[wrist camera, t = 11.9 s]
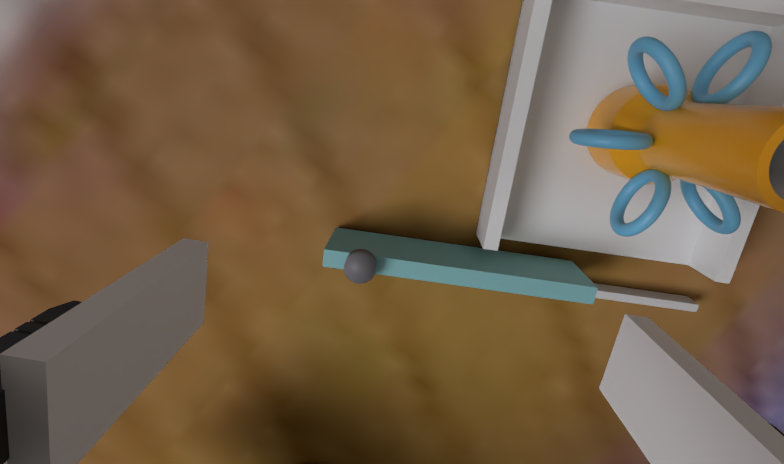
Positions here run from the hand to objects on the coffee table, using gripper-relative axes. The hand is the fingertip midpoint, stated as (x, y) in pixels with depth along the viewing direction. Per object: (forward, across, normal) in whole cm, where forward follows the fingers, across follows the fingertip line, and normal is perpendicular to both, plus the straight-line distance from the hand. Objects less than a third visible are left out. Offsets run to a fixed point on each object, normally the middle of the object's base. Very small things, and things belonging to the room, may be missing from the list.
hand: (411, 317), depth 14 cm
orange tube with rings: (+20, +14, +7) cm, 25 cm away
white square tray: (+20, +14, +6) cm, 25 cm away
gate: (+20, +4, -4) cm, 21 cm away
